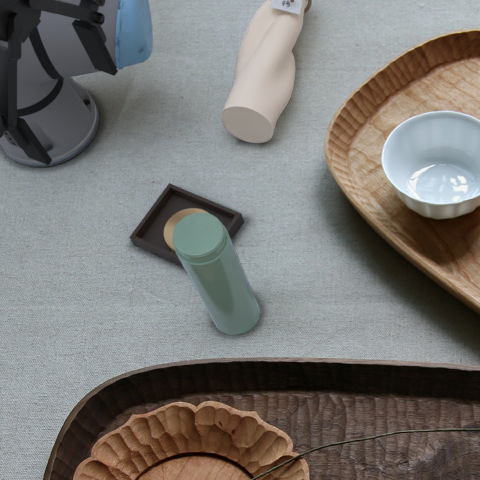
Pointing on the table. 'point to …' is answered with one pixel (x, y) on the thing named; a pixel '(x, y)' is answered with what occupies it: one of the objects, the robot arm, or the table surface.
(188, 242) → the thermos flask
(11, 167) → the table surface
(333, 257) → the table surface
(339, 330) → the table surface
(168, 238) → the lid
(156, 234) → the lid tray
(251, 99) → the water bottle
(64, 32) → the robot arm
